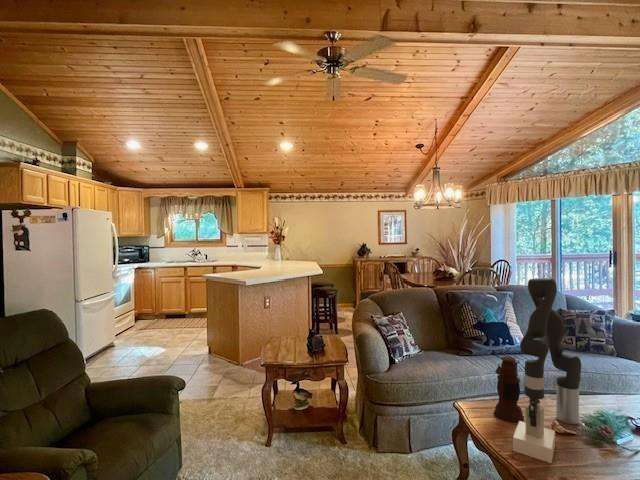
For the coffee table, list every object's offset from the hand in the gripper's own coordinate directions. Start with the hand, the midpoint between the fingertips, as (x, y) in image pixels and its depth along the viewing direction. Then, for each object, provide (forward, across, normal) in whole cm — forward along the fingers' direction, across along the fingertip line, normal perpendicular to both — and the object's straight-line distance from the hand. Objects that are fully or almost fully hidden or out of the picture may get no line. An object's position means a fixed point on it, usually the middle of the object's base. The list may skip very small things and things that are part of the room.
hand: (534, 423), depth 156 cm
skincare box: (+5, 0, 0) cm, 5 cm away
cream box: (+11, 0, 0) cm, 11 cm away
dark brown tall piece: (+11, -22, -14) cm, 28 cm away
